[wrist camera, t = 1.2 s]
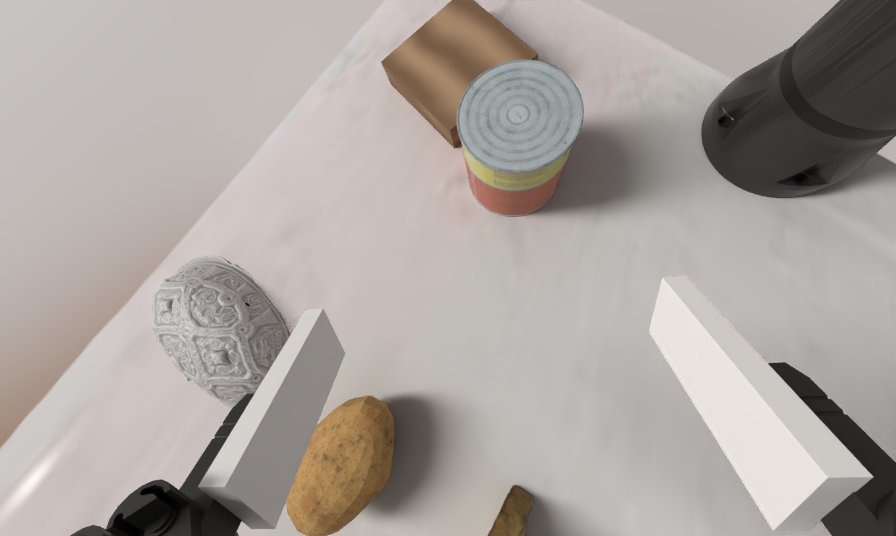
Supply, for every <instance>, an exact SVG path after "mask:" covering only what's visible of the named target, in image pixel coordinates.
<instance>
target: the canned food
mask: <svg viewBox="0 0 896 536" xmlns="http://www.w3.org/2000/svg"><path fill="white" fill-rule="evenodd" d="M583 113H584V110H583V102H582V98H581V95H580V92H579V90H578V88H577V87H576V85H575V84H574V82H573V81H572V80H571V79H570V78H569V77H568V76H567V75H566V74H565V73H564V72H563V71H561V70H560V69H558V68H556V67H554V66H552V65H550V64H547V63H544V62H541V61H536V60H513V61H508V62H504V63H501V64H498V65H496V66H494V67H492V68H490V69H488V70H486V71H485V72H483V73H482V74H480V75H479V76H478V77H477V78H476V79H475V80H474V81H473V82H472V83H471V84H470V85H469V86H468V88H467V89H466V91H465V92H464V94H463V96H462V98H461V100H460V103H459V106H458V110H457V130H458V134H459V137H460V140H461V144H462V148H463V153H464V158H465V163H466V167H467V172H468V179H469V185H470V189H471V191H472V194H473V195H474V197H475V199H476V200H477V201H478V202H479V203H480V204H481V205H482V206H483V207H484V208H486V209H487V210H489V211H490V212H493V213H495V214H498V215H502V216H508V217H517V216H523V215H527V214H530V213H532V212H534V211H536V210H538V209H540V208H541V207H542V206H544V205H545V204H546V203H547V202H548V201H549V200H550V199H551V197H552V196H553V194H554V193H555V191H556V189H557V186H558V183H559V179H560V176H561V174H562V171H563V169H564V166H565V164H566V161H567V159H568V156H569V154H570V151H571V149H572V146H573V144H574V142H575V140H576V138H577V136H578V134H579V132H580V129H581V126H582V122H583Z"/></svg>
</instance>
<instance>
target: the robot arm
mask: <svg viewBox="0 0 896 536" xmlns="http://www.w3.org/2000/svg"><path fill="white" fill-rule="evenodd" d="M895 136H896V0H840V1H839V2H838V3H836V4H835V6H833V7H832V8H831V9H830V10H829V11H828V12H827V13H826V14H825V15H824V16H823V17H822V18H821V19H820V20H819V21H817V23H815V24H814V25H813V26H812V27H811V28H810V29H809V30H808V31H807V32H806V33H805V34H804V35H803V36H802V37H801V38H800V39H799V40H798V41H797V42H796V43H795V44H794V45H793V46H791V47H790V48H788V49H786V50H784V51H783V52H781V53H780V54H777V55H776V56H774V57H772V58H770V59H768V60H767V61H765V62H763V63H761V64H760V65H758V66H756V67H754V68H752V69H751V70H749V71H747V72H745V73H744V74H742V75H741V76H739V77H738V78H736V79H735V80H734V81H733V82H731V83H730V84H729V85H728V86H727V87H726V88H725V89H724V90H723V91H722V92H721V93H720V94H719V95H718V97H717V98H716V99H715V100H714V101H713V102H712V104H711V105H710V106H709V108H708V110H707V112H706V114H705V117H704V120H703V124H702V142H703V146H704V149H705V152H706V154H707V156H708V158H709V160H710V162H711V163H712V165H713V166H714V167H715V168H716V170H717V171H718V172H719V173H720V174H721V175H722V176H724V177H725V178H726V179H727V180H729V181H730V182H732V183H733V184H735V185H736V186H738V187H740V188H742V189H744V190H747V191H749V192H752V193H755V194H759V195H763V196H769V197H778V198H788V197H798V196H803V195H807V194H811V193H814V192H816V191H819V190H821V189H823V188H826V187H828V186H830V185H833V184H835V183H837V182H839V181H841V180H843V179H845V178H846V177H848V176H849V175H851V174H852V173H854V172H855V171H856V170H858V169H859V168H860V167H861V166H862V165H863V164H864V163H866V162H867V161H868V160H869V159H870V158H871V157H872V156H873V155H875V154H876V153H877V152H878V151H879V150H880V149H881V148H882V147H883V146H885V145H886V144H887V143H888V142H889V141H890V140H891V139H893V137H895ZM649 333H650V334H651V336H652V337H653V339H654V341H655V342H656V344H657V346H658V347H659V349H660V350H661V352H662V354H663V355H664V357H665V358H666V360H667V362H668V363H669V365H670V366H671V368H672V370H673V371H674V373H675V374H676V376H677V378H678V379H679V381H680V382H681V384H682V386H683V387H684V389H685V390H686V392H687V394H688V395H689V397H690V398H691V400H692V402H693V403H694V405H695V406H696V408H697V410H698V411H699V413H700V414H701V416H702V418H703V419H704V421H705V423H706V424H707V426H708V427H709V429H710V431H711V432H712V434H713V435H714V437H715V439H716V440H717V442H718V443H719V445H720V447H721V448H722V450H723V451H724V453H725V455H726V456H727V458H728V459H729V461H730V463H731V464H732V466H733V467H734V469H735V471H736V472H737V474H738V475H739V477H740V479H741V480H742V482H743V483H744V485H745V487H746V488H747V490H748V491H749V493H750V495H751V496H752V498H753V499H754V501H755V503H756V504H757V506H758V508H759V509H760V511H761V512H762V514H763V516H764V517H765V519H766V520H767V522H768V524H769V525H770V527H771V528H772V530H773V531H810V530H811V529H812V528H813V527H815V526H816V525H817V524H818V523H819V522H821V521H822V523H823V524H824V525H825V527H826V528H827V529H828V531H829V532H830V533H831V535H832V536H896V463H895V462H894V461H893V460H892V459H891V458H890V457H889V456H888V455H887V454H886V453H885V452H884V451H883V450H882V449H881V448H880V447H879V446H878V445H877V444H876V443H875V442H874V441H873V440H872V439H871V438H870V437H869V436H868V435H867V434H866V433H865V432H864V431H863V430H862V429H861V428H860V427H859V426H858V425H857V424H856V423H855V422H854V421H853V420H852V419H851V418H850V417H849V416H848V415H845V414H843V410H842V409H841V408H840V407H838V406H837V405H836V404H835V403H834V402H833V401H832V400H831V399H828V398H827V395H826V394H825V393H824V392H823V391H822V390H821V389H820V388H819V387H818V386H817V385H816V384H815V383H814V382H813V381H812V380H811V379H810V378H809V377H807V376H806V375H804V374H803V373H801V372H799V371H798V370H796V369H795V368H793V367H791V366H790V365H788V364H787V363H785V362H784V363H767V362H766V361H765V360H764V359H763V358H762V357H761V356H760V355H759V354H758V353H757V352H756V350H755V349H754V348H753V347H752V346H751V345H750V344H749V343H748V342H747V341H746V340H745V339H744V338H743V337H742V335H741V334H740V333H739V332H738V331H737V330H736V329H735V328H734V327H733V326H732V325H731V324H730V323H729V321H728V320H727V319H726V318H725V317H724V316H723V315H722V314H721V313H720V312H719V311H718V310H717V309H716V308H715V306H714V305H713V304H712V303H711V302H710V301H709V300H708V299H707V298H706V297H705V296H704V295H703V294H702V293H701V291H700V290H699V289H698V288H697V287H696V286H695V285H694V284H693V283H692V282H691V281H690V280H689V279H688V278H687V276H686V275H683V276H672V277H662V281H661V285H660V289H659V293H658V297H657V301H656V305H655V309H654V313H653V317H652V321H651V325H650V329H649ZM344 355H345V352H344V350H343V348H342V346H341V344H340V342H339V340H338V338H337V336H336V334H335V332H334V330H333V328H332V326H331V324H330V322H329V319H328V317H327V315H326V313H325V311H324V309H323V308H322V309H311V310H306V311H305V312H304V314H303V316H302V317H301V319H300V320H299V322H298V324H297V325H296V327H295V329H294V330H293V332H292V334H291V335H290V337H289V338H288V340H287V342H286V343H285V345H284V347H283V348H282V350H281V352H280V353H279V355H278V356H277V358H276V360H275V361H274V363H273V365H272V366H271V368H270V370H269V371H268V373H267V374H266V376H265V378H264V379H263V381H262V383H261V384H260V386H259V388H258V389H257V391H256V392H255V393H250V394H246V395H245V396H244V397H243V398H242V399H241V400H240V401H239V402H238V403H237V404H236V405H235V406H234V407H233V408H232V410H231V411H230V413H229V414H228V416H227V417H226V419H225V420H224V422H223V426H221V427H220V428H219V430H218V431H217V433H216V434H215V438H214V439H212V440H211V442H210V444H209V445H208V447H207V448H206V450H205V451H204V453H203V454H202V456H201V457H200V459H199V460H198V462H197V464H196V465H195V467H194V468H193V470H192V471H191V473H190V474H189V476H188V477H187V479H186V481H185V482H184V484H183V485H182V487H181V488H180V489H179V490H178V489H177V488H175V487H174V486H172V485H171V484H170V483H168V482H166V481H164V480H155V481H151V482H149V483H147V484H145V485H143V486H141V487H139V488H138V489H137V490H135V491H134V492H133V493H131V494H130V495H129V496H128V497H127V498H126V499H125V500H124V501H123V502H122V503H121V504H120V505H119V506H118V507H117V509H116V510H115V512H114V513H113V515H112V516H111V518H110V520H109V522H108V525H107V528H106V529H104V528H102V527H99V526H95V525H92V526H89V527H85V528H83V529H81V530H79V531H77V532H76V533H74V534H72V535H71V536H239V535H238V533H237V532H236V531H237V529H238V527H239V525H240V523H241V521H242V522H243V523H245V524H246V525H247V526H249V527H250V528H251V529H275V528H276V525H277V522H278V520H279V517H280V515H281V512H282V510H283V507H284V505H285V502H286V500H287V497H288V495H289V492H290V490H291V487H292V485H293V482H294V480H295V477H296V475H297V472H298V470H299V467H300V465H301V462H302V460H303V457H304V455H305V452H306V450H307V447H308V445H309V442H310V440H311V437H312V435H313V432H314V430H315V427H316V425H317V422H318V420H319V417H320V415H321V412H322V410H323V407H324V405H325V402H326V400H327V397H328V395H329V392H330V390H331V387H332V385H333V382H334V380H335V377H336V375H337V372H338V370H339V367H340V365H341V362H342V360H343V357H344Z"/></svg>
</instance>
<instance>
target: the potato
mask: <svg viewBox="0 0 896 536" xmlns="http://www.w3.org/2000/svg"><path fill="white" fill-rule="evenodd" d="M393 447H394V418H393V416H392V414H391V412H390V410H389V408H388V406H387V404H386V403H384V402H382V401H380V400H378V399H376V398H374V397H373V396H364V397H359V398H354V399H351V400H348V401H347V402H345V403H344V404H342V405H341V406H339V407H337V408H336V409H334V410H333V411H332V412H331V413H330V414H329V415H328V416H327V417H326V418H325V419H323V420H322V421H321V422H320V423H319V424H318V425H317V426H316V427H315V430H314V432H313V435H312V437H311V440H310V442H309V445H308V447H307V450H306V452H305V455H304V457H303V460H302V462H301V465H300V467H299V470H298V472H297V475H296V477H295V480H294V482H293V485H292V487H291V490H290V492H289V495H288V497H287V500H286V504H287V512H288V515H289V516H290V518H291V520H292V522H293V524H294V526H295V527H296V529H297V531H299V532H301V533H303V534H304V535H306V536H327V535H330V534H333V533H335V532H337V531H339V530H340V529H342V528H343V527H344V526H345V525H347V524H348V523H349V522H350V521H352V520H353V519H354V518H355V517H356V516H357V515H358V514H359V513H360V512H361V511H362V510H363V509H364V508H365V507H366V506H367V505H368V504H369V503H370V502H371V501H372V500H373V499H374V498H375V497H376V496H377V495H378V494H379V493H380V492H381V491H382V490H383V489H384V487H385V485H386V483H387V481H388V479H389V477H390V475H391V466H392V457H393Z"/></svg>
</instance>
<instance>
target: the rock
mask: <svg viewBox="0 0 896 536" xmlns="http://www.w3.org/2000/svg"><path fill="white" fill-rule="evenodd" d="M532 504H533V497H532V496H531V495H529V494H528V493H526V492H525V491H523V490H522V489H521V488H519V487H517V486H512V488H511V489H510V492H509V493H508V495H507V497H506V499H505V501H504V503H503V505H502V507H501V510H500V512H499V514H498V516H497V518H496V520H495V522H494V524H493V527H492V529H491V530H490V532H489V534H488V536H524V535H525V528H526V521H527V517H528V514H529V511H530V509H531V508H532Z"/></svg>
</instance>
